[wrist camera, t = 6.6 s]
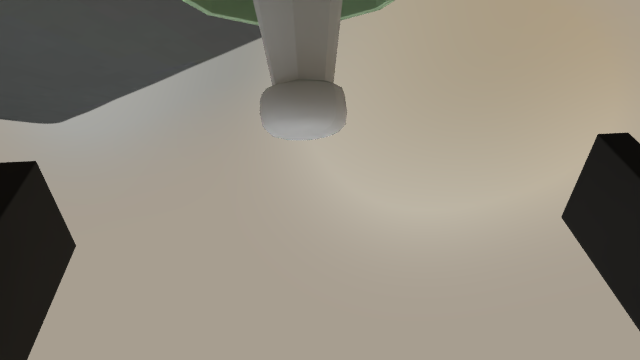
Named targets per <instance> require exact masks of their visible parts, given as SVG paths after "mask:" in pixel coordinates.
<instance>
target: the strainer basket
mask: <svg viewBox="0 0 640 360" xmlns="http://www.w3.org/2000/svg"><path fill="white" fill-rule="evenodd" d="M182 1H184V2H186V3H188V4H189V5H191V6H193V7H195V8H196V9H198V10H200V11H202V12H204V13H205V14H207V15H210V16H215V17H220V18H225V19H230V20H235V21H240V22H244V23H249V24H254V25H259V23H258V19H257V15H256V11H255V7H254V3H253V0H182ZM393 1H394V0H343V1H342V10H341V18H340V20H344V19H347V18H351V17H355V16H359V15H362V14H366V13H370V12H373V11H377V10H380V9H382V8H383V7H385V6H387V5H388V4H390V3H391V2H393Z"/></svg>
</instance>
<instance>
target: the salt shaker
mask: <svg viewBox="0 0 640 360" xmlns="http://www.w3.org/2000/svg"><path fill="white" fill-rule="evenodd" d="M342 1H343V0H253V3H254V7H255V11H256V15H257V19H258V23H259V28H260V32H261V36H262V40H263V44H264V49H265V54H266V58H267V63H268V67H269V71H270V76H271V81H272V86H271V87H269V88H267V89H266V90H265V91H264V92H263V94H262V96H261V100H260V116H261V120H262V125H263V127H264V128H265V129H266V130H267V131H268V132H269V133H270V134H271V135H272V136H273V137H278V138H282V139H286V140H312V139H319V138H323V137H327V136H330V135H333V134H335V133H337V132H339V131H340V130H341V129H342V128H343V127H344V125H345V124H346V115H347V109H346V102H345V95H344V92H343V90H342V87H340V86H338V85H336V84H334V83H333V81H334V72H335V63H336V54H337V45H338V36H339V27H340V18H341V10H342Z"/></svg>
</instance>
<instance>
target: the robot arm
mask: <svg viewBox="0 0 640 360" xmlns="http://www.w3.org/2000/svg"><path fill="white" fill-rule="evenodd" d="M562 219H563V220H564V222H565V223H566V225H567V226H568V227H569V229H570V230H571V232H572V233H573V235H574V236H575V238H576V239H577V241H578V242H579V243H580V245H581V246H582V248H583V249H584V251H585V252H586V253H587V255H588V257H589V258H590V259H591V261H592V262H593V264H594V265H595V267H596V268H597V270H598V271H599V273H600V274H601V275H602V277H603V278H604V280H605V281H606V283H607V284H608V286H609V287H610V289H611V290H612V291H613V293H614V294H615V296H616V297H617V299H618V300H619V302H620V303H621V305H622V306H623V307H624V309H625V310H626V312H627V313H628V315H629V316H630V318H631V319H632V321H633V322H634V323H635V325H636V326H637V328H638V329H639V331H640V144H639V142H637V141H636V140H635V139H634V138H633V137H632V136H631V135H630V134H629V133H613V134H598V135H597V137H596V140H595V142H594V145H593V147H592V149H591V151H590V153H589V156H588V158H587V160H586V162H585V165H584V167H583V170H582V171H581V174H580V176H579V178H578V181H577V183H576V185H575V187H574V190H573V192H572V194H571V196H570V199H569V201H568V203H567V206H566V208H565V210H564V212H563V215H562ZM75 247H76V245H75V243H74V240H73V238H72V236H71V234H70V232H69V230H68V228H67V226H66V224H65V222H64V219H63V217H62V215H61V213H60V211H59V209H58V207H57V204H56V202H55V200H54V198H53V196H52V194H51V192H50V190H49V188H48V186H47V183H46V181H45V179H44V177H43V175H42V173H41V171H40V169H39V166H38V164H37V163H36V161H30V162H29V161H28V162H7V163H0V360H27V359H28V356H29V354H30V352H31V349H32V347H33V345H34V342H35V340H36V338H37V335H38V333H39V331H40V328H41V326H42V324H43V321H44V319H45V317H46V314H47V312H48V309H49V307H50V305H51V303H52V300H53V298H54V296H55V293H56V291H57V289H58V286H59V284H60V282H61V279H62V277H63V275H64V272H65V270H66V268H67V265H68V263H69V261H70V258H71V256H72V254H73V251H74V249H75Z"/></svg>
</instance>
